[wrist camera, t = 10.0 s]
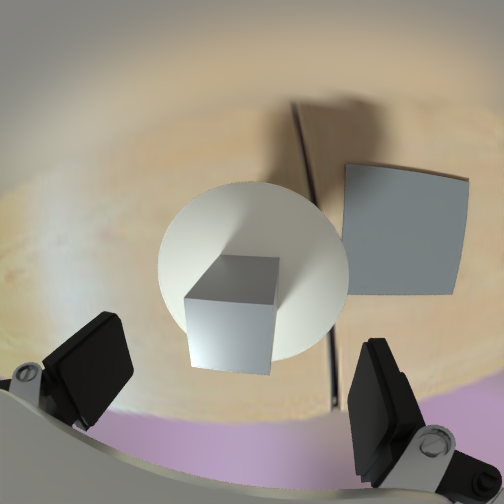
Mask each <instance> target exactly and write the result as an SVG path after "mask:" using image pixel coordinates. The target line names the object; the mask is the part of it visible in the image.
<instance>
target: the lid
mask: <svg viewBox="0 0 504 504" xmlns="http://www.w3.org/2000/svg"><path fill="white" fill-rule="evenodd" d="M158 279H159V284H160V289H161V292H162V296H163V299H164V301H165V303H166V306H167V308H168V310H169V311H170V313H171V315H172V316H173V318H174V319H175V321H176V322H177V323H178V325H179V326H180V327H181V328H182V329H183V330H184V331H185V332H186V333H187V335H188V343H189V350H190V357H191V364H192V366H193V367H199V368H206V369H213V370H220V371H228V372H237V373H247V374H258V375H270V368H271V361H277V360H282V359H285V358H288V357H292V356H294V355H296V354H299V353H301V352H303V351H305V350H306V349H308V348H310V347H311V346H313V345H314V344H315V343H317V342H318V341H319V340H320V339H321V338H322V337H323V336H324V335H325V334H326V333H327V332H328V331H329V330H330V329H331V327H332V326H333V325H334V323H335V322H336V320H337V319H338V317H339V315H340V313H341V311H342V309H343V306H344V303H345V301H346V296H347V292H348V285H349V267H348V261H347V256H346V252H345V249H344V246H343V244H342V241H341V239H340V237H339V235H338V233H337V231H336V230H335V228H334V226H333V225H332V224H331V222H330V221H329V220H328V218H327V217H326V216H325V215H324V214H323V213H322V212H321V211H320V210H319V209H318V208H317V207H316V206H315V205H314V204H313V203H311V202H310V201H309V200H307V199H306V198H305V197H303V196H301V195H300V194H298V193H296V192H294V191H292V190H290V189H287V188H284V187H282V186H279V185H275V184H270V183H266V182H254V181H249V182H236V183H231V184H226V185H222V186H219V187H216V188H213V189H210V190H208V191H206V192H204V193H203V194H201V195H199V196H197V197H196V198H194V199H193V200H192V201H190V202H189V203H188V204H187V205H186V206H185V207H183V208H182V209H181V210H180V211H179V212H178V214H177V215H176V216H175V218H174V219H173V220H172V222H171V223H170V225H169V227H168V229H167V231H166V232H165V235H164V238H163V240H162V243H161V247H160V251H159V257H158Z"/></svg>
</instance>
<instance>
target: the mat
mask: <svg viewBox="0 0 504 504" xmlns="http://www.w3.org/2000/svg"><path fill="white" fill-rule="evenodd" d="M468 197H469V182H466V181H462V180H457V179H452V178H447V177H442V176H436V175H431V174H425V173H419V172H412V171H406V170H399V169H391V168H383V167H375V166H366V165H356V164H345V195H344V214H343V228H342V244H343V246H344V249H345V252H346V256H347V261H348V267H349V285H348V292H347V295H452V294H453V290H454V286H455V282H456V278H457V273H458V269H459V264H460V259H461V253H462V248H463V241H464V235H465V227H466V219H467V209H468Z"/></svg>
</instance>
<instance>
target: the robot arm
mask: <svg viewBox="0 0 504 504" xmlns="http://www.w3.org/2000/svg"><path fill="white" fill-rule="evenodd" d="M42 362H43V365H44V367H45V369H44V370H42V368H41V366H40V365H39V364H37V363H34V362H28V363H24V364H22V365H20V366H19V367H17V368H16V370H15V371H14V373H13V376H12V379H7V380H0V504H504V488H503V487H502V486H501V484H502V476H501V474H500V472H499V470H498V469H497V468H495V467H494V466H492V465H490V464H487V463H485V462H482V461H480V460H477V459H475V458H473V457H471V456H468V455H465V454H464V453H462V452H459V451H457V450H455V446H456V442H455V438H454V436H453V434H452V433H451V432H450V431H449V430H448V429H447V428H445V427H443V426H439V425H428V426H426V425H425V422H424V419H423V417H422V414H421V411H420V409H419V406H418V404H417V401H416V399H415V396H414V394H413V391H412V389H411V386H410V384H409V382H408V379H407V377H406V375H405V374H404V373H403V372H400V371H399V368H398V366H397V364H396V361H395V359H394V357H393V355H392V352H391V350H390V348H389V346H388V343H387V341H386V339H385V338H370V339H369V340H368V342H364V343H363V345H362V349H361V353H360V356H359V360H358V364H357V367H356V371H355V374H354V378H353V381H352V385H351V388H350V391H349V394H348V401H347V403H348V410H349V418H350V424H351V433H352V441H353V450H354V460H355V471H356V475H361V482H362V483H363V482H371V486H372V487H373V488H364V489H340V490H296V489H279V488H266V487H256V486H249V485H242V484H234V483H229V482H223V481H218V480H213V479H208V478H203V477H200V476H195V475H191V474H187V473H184V472H180V471H176V470H173V469H169V468H166V467H163V466H160V465H156V464H154V463H151V462H148V461H145V460H142V459H139V458H137V457H134V456H132V455H129V454H127V453H124V452H121V451H119V450H117V449H115V448H112V447H110V446H108V445H106V444H103V443H101V442H99V441H97V440H95V439H93V438H90V437H89V436H87V435H85V434H83V433H81V432H79V431H77V430H75V429H73V427H72V425H73V424H74V423H75V425H76V426H77V427H79V428H80V429H83V430H84V431H87V430H88V429H89V428H90V427H91V426H94V425H95V423H96V422H97V421H98V419H99V418H100V417H101V415H102V414H103V413H104V412H105V410H106V409H107V408H108V406H109V405H110V404H111V402H112V401H113V400H114V399H115V397H116V396H117V395H118V393H119V392H120V391H121V390H122V388H123V387H124V386H125V384H126V383H127V382H128V381H129V379H130V378H131V377H132V375H133V372H134V368H133V365H132V361H131V358H130V354H129V350H128V347H127V343H126V339H125V335H124V331H123V327H122V322H121V319H120V318H119V317H118V315H117V314H115V313H111V312H106V311H104V312H102V313H100V314H99V315H98V316H97V317H95V318H94V319H93V320H92V321H90V322H89V323H88V324H86V325H85V326H84V327H83V328H81V329H80V330H79V331H78V332H77V333H75V334H74V335H73V336H72V337H70V338H69V339H68V340H67V341H65V342H64V343H63V344H62V345H61V346H59V347H58V348H57V349H56V350H55V351H53V352H52V353H51V354H50V355H49V356H47V357H46V358H45V359H44V360H43V361H42Z"/></svg>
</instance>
